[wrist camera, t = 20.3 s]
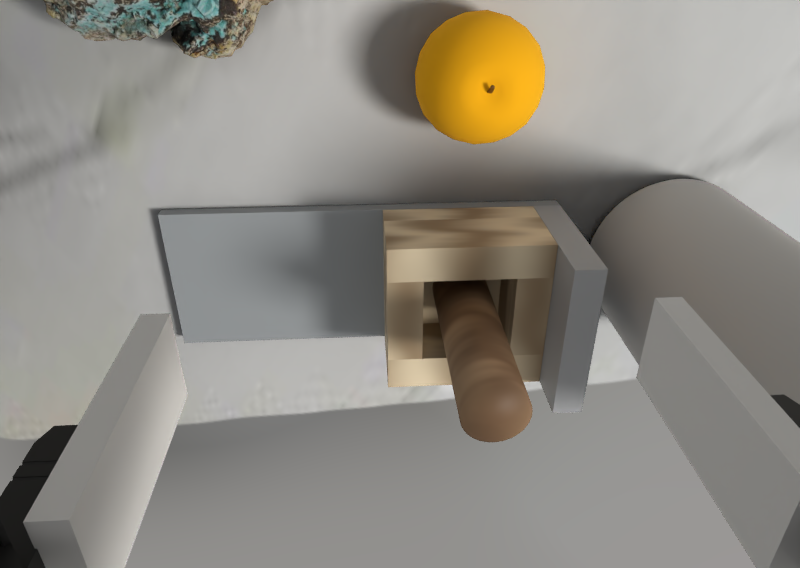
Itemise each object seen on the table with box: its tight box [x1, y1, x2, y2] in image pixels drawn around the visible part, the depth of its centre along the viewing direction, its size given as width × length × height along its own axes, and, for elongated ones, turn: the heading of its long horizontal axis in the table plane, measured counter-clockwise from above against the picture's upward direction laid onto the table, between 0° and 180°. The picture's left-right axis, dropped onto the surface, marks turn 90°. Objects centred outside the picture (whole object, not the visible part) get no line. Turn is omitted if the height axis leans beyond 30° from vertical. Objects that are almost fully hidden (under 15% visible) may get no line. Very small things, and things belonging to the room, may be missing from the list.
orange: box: [415, 10, 545, 144], centre depth 38 cm, size 8×8×8 cm
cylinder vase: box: [590, 179, 800, 404], centre depth 38 cm, size 12×12×25 cm
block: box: [383, 206, 558, 387], centre depth 45 cm, size 11×11×6 cm
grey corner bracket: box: [158, 200, 608, 413], centre depth 44 cm, size 29×11×11 cm, turn 90°
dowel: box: [432, 280, 532, 442], centre depth 40 cm, size 4×4×14 cm
